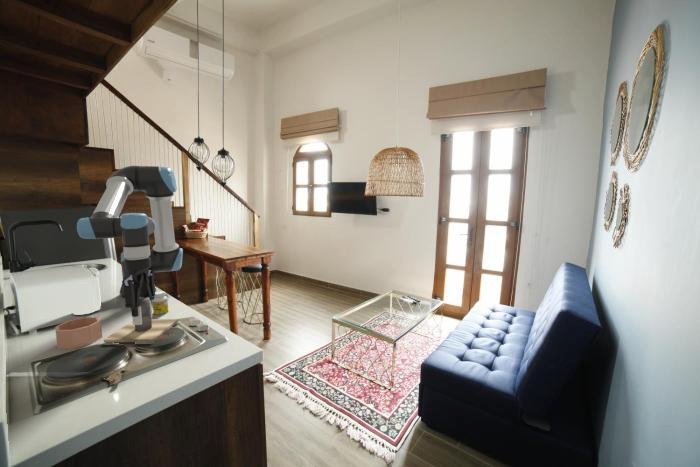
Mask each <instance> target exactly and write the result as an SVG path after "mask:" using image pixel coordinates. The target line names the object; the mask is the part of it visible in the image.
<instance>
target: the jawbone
mask: <svg viewBox="0 0 700 467" xmlns="http://www.w3.org/2000/svg"><path fill="white" fill-rule="evenodd" d="M126 367H127V365H124V366H123V367H120V368H119V369H117V370H113V371H114V372H113V374H112V375H110V376H109V377H108V378H107V379H105V378H104V379H103V380H105V381H108V382H109V386H113V385H114V386H116V385H118V383H119V382H121V381H122V379H123V378H122V376H123V375H124V374H125V373H126V372H129V370H123V369H124V368H126ZM124 372H125V373H124ZM123 373H124V374H123Z"/></svg>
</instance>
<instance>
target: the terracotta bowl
mask: <svg viewBox="0 0 700 467" xmlns="http://www.w3.org/2000/svg"><path fill="white" fill-rule="evenodd" d="M54 329H55V336H56V343H57V349H58V350H74V349H78V348H82V347H84V346H89V345H92V344H94V343H96V342H97V341H98V340H101V339H102V338H103V330H102V321H101V319H100V317H99V316H84V317H79V318H75V319H71V320H67V321H64V322H63V323H61V324H58V325H56V326H55V327H54Z"/></svg>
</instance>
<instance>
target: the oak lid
mask: <svg viewBox="0 0 700 467" xmlns="http://www.w3.org/2000/svg"><path fill="white" fill-rule="evenodd" d="M139 306H141V313H142V324H141V325H133V320H132V321H131V322H129V323H128V324H126V325H124V326H123V327H121V328H120V329H118V330H117V331H115V332H113V333H111V334H110V335H109V336H107V337H106V338H104V339H103V343H105V342H137V341H153V340H154V339H156V338H157V337H158V336H160V335H162V334H164V333H165V332H166V331H167V330H169V329H170V328H171V327H172V326H173V325H175V324H176V323H179V318H158V319H157V318H151V309H150V298H149V297H140V299H139Z"/></svg>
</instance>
